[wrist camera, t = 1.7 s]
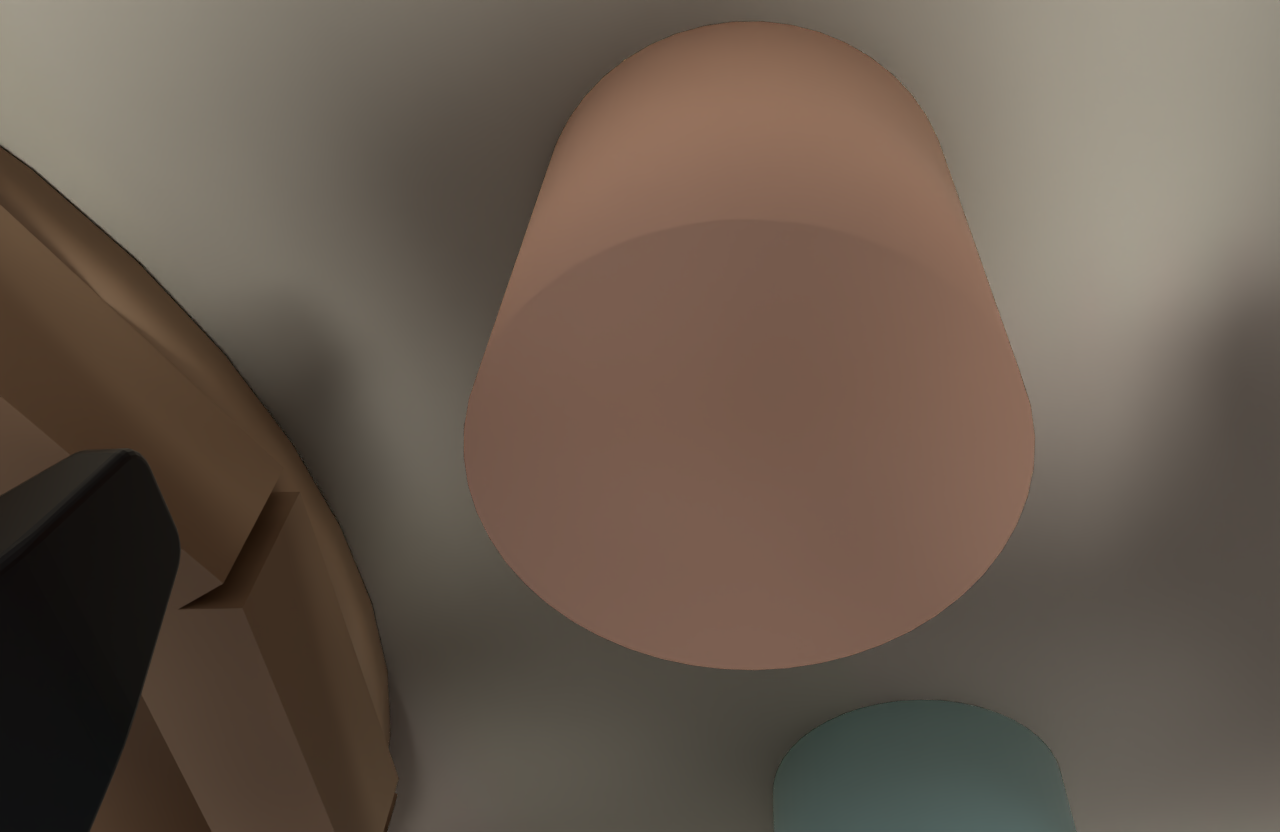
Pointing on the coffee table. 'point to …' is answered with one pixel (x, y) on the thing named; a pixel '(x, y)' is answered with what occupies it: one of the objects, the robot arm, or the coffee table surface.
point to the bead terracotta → (749, 363)
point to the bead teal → (920, 774)
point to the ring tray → (198, 544)
